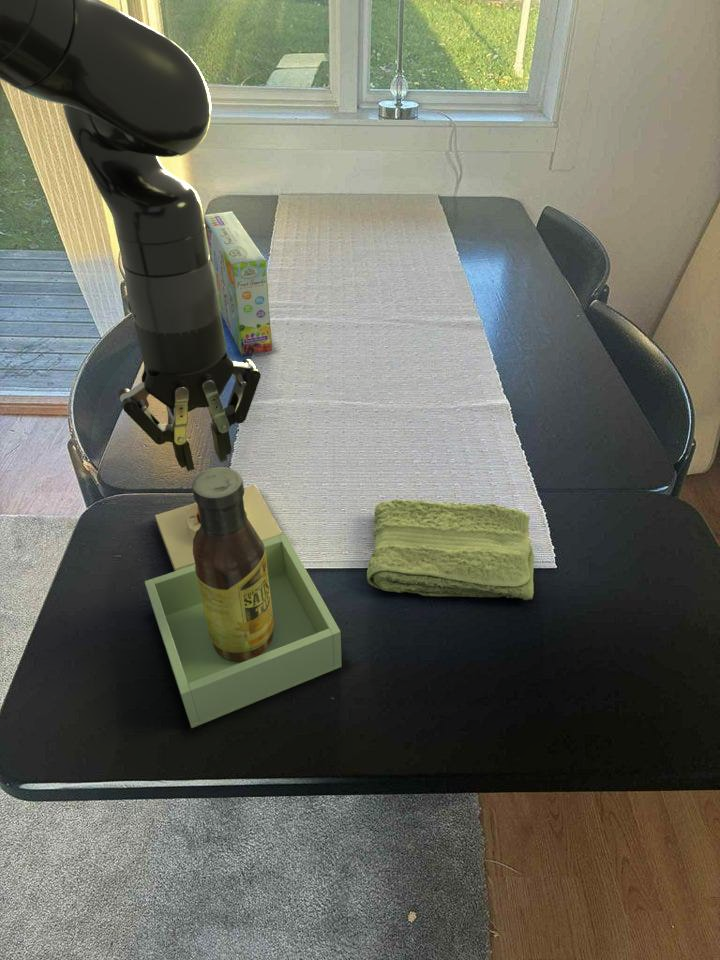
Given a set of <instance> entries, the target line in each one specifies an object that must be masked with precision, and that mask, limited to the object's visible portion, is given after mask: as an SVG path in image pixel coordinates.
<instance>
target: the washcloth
mask: <svg viewBox="0 0 720 960" xmlns="http://www.w3.org/2000/svg"><path fill="white" fill-rule="evenodd" d="M530 515H531V514H530V513H526V512H524V511H522V510H521V509H519V508H518V509H517V508H510V507H506V506H502V505H497V504H493V503H491V504H489V503H486V504H482V503H480V504H477V503H473V504H472V503H462V502H458V503H454V502H449V503H447V502H436V501H433V502H430V501H427V500H423V499H419V500H415V499H410V500H406V499H405V500H402V499H393V500H385V501H380V502H379V503H377V504H376V505H375V509H374V519H373V521H374V528H373V535H372V537H374V538H375V540H374V550H373V552H372V553H371V556H370V560H369V562H368V568H367V570H366V579H367V583H368V584H370V585H371V587H374V588H377V589H379V590H381V591H384V592H389V593H398V594H399V593H408V594H409V593H410V594H418V595H421V596H423V597H439V598H441V597H464V598H501V597H505V598H506V599H509V598H510V599H521V600H524V601H528V600H533V597H534V594H535V591H534V588H535V587H534V571H535V569H534V568H535V567H534V564H535V555H534V550H533V547H532V541H531V539H530V531H529V530H530V529H529V528H530V527H529V526H530V525H529V524H530V518H531V517H530Z"/></svg>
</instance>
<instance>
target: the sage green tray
mask: <svg viewBox="0 0 720 960" xmlns="http://www.w3.org/2000/svg"><path fill="white" fill-rule="evenodd" d="M263 543H264V546H265V553H266V562H267V570H268V578H269V586H270V595H271V604H272V612H273V620H274V627H273V636H272V637H273V638H272V640H271V642H270V645H269V646H268V647H267V649H266V650H265V651H264V652H263V653H262V654H261V655H259V656H257V657H255V658H252V659H249V660H247V661H243V662H236V661H230V660H228V659H224V658H223V657H222V656H220V655H219V654H218V653H217V652H216V650H215V648H214V646H213V643H212V641H211V639H210V637H209V633H208V628H207V624H206V619H205V615H204V610H203V605H202V600H201V595H200V591H199V586H198V581H197V577H196V572H195V565H193V566H190V567H187V568H184V569H181V570H178V571H172V572H169V573H166V574H163V575H160V576H157V577H153V578H150V579H148V580H147V579H146V580H144V585H145V589H146V591H147V595H148V598H149V600H150V604H151V607H152V610H153V613H154V617H155V621H156V623H157V626H158V630H159V633H160V635H161V638H162V639H161V640H162V642H163V645H164V647H165V651H166V654H167V657H168V660H169V663H170V666H171V670H172V673H173V675H174V678H175V682H176V685H177V688H178V691H179V695H180V698H181V700H182V701H181V702H182V703H183V706H184V710H185V713H186V716H187V719H188V723H189V725H190V728H191V729H194V728H196V727H199V726H201V725H203V724H205V723H209V722H211V721H213V720H215V719H218V718H220V717H223V716H224V715H225V716H226V715H228V714H231V713H232V712H235V711H237V710H240V709H242V708H245V707H247V706H250V705H252V704H255V703H257V702H259V701H261V700H264V699H266V698H270V697H271V696H274V695H276V694H279V693H281V692H283V691H286V690H289V689H291V688H293V687H296V686H298V685H301V684H304V683H306V682H308V681H310V680H313V679H315V678H317V677H320V676H323V675H325V674H327V673H330V672H332V671H335V670H337V669H339V668H342V666H343V665H342V663H343V662H342V635H341V630H340V627H339V626H338V625H337V622H336V621H335V619H334V617H333V615H332V614H331V612H330V610H329V608H328V607H327V605H326V603H325V601H324V600H323V598H322V596H321V594H320V593H319V590H318V589H317V587H316V585H315V584H314V581H313V580H312V578H311V577H310V574H309V572H308V571H307V569H306V567H305V565H304V563H303V562H302V560H301V559H300V556H299V555H298V553H297V552H296V549H295V548H294V546H293V543H292V542H291V541H290V539H289V537H288V535H287V534H286V533H285V534H282V536H279V537H277V538H274V539H271V540H268V541H265V542H263Z"/></svg>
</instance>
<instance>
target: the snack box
mask: <svg viewBox="0 0 720 960" xmlns="http://www.w3.org/2000/svg"><path fill="white" fill-rule="evenodd" d="M203 215H204V221H205V228H206V235H207V242H208V248H209V255H210V260H211V264H212V267H213V271H214V274H215V278H216V283H217V289H218V296H219V302H220V309H221V316H222V319H223V320H224V322H225V324H226V326H227V328H228V330H229V332H230V334H231V336H232V339H233V340H234V342H235V344H236V346H237V348H238V350H239V352H240V354H241V356H246V355H253V354H254V355H255V354H259V353H265V352H266V353H267V352H271V351H273V344H272V329H271V313H270V300H269V284H268V273H267V260H266V259H265V257H264V256H263V253H261V251H260V250H259V249H258V247H257V246H256V244H255V243H254V241H253V240H252V238H251V236H250V235H249V233H247V231H246V229H245V228H244V227H243V226H242V224H241V222H240V221H239V219H238V218H237V216H236V215H235V214H234V212H233V211H231V210H230V211H225V212H216V213H215V212H214V213H209V214H203Z"/></svg>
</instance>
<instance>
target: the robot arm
mask: <svg viewBox="0 0 720 960" xmlns="http://www.w3.org/2000/svg"><path fill="white" fill-rule="evenodd" d="M0 80H1V81H3V82H5V83H6V84H8V85H9V86H11V87H13V88H15V89H17V90H18V91H21V92H23V93H26V94H27V95H29V96H32V97H34V98H38V99H40V100H44V101H47V102H51V103H55V104H59V105H62V109H63V113H64V117H65V120H66V123H67V126H68V129H69V131H70V133H71V136H72V138H73V140H74V143H75V145H76V147H77V149H78V151H79V153H80V155H81V157H82V159H83V161H84V163H85V165H86V167H87V170H88V172H89V173H90V176H91V177H92V180H93V182H94V184H95V186H96V188H97V190H98V192H99V194H100V195H101V198H102V199H103V201H104V203H105V204H106V206H107V208H108V210H109V212H110V214H111V216H112V221H113V225H114V229H115V234H116V235H115V236H116V239H117V244H118V248H119V251H120V256H121V260H122V264H123V270H124V279H125V290H126V295H127V299H128V303H127V304H128V309H129V311H130V314H131V316H132V320H133V325H134V327H135V333H136V337H137V342H138V346H139V349H140V353H141V358H142V362H143V363H142V364H143V372H142V375H141V382H140V383H139V384H137V385H136V386H134V387H133V388H131V389H129V388H126V387H125V388H121V389H120V390H118V393H117V397H118V399H119V402H120V405H121V406H122V409H123V411H124V412H125V413H126V414H127V416H128V417H130V419H132V421H133V422H135V424H136V425H137V426H138V427H139V428H140V429H141V430H142V431H143V432H144V433H145V434H146V435H147V436H148V437H149V438H150V439H151V440H152V441H153V442H154V443H155V444H156V445H160V446H161V445H164V444H166V443H171V444H172V448H173V451H174V452H173V453H174V457H175V459H176V461H177V463H178V465H179V467H180V468H181V469H182V468H185V469H186V471H187V472H191V471H194V470H195V469H196V468H195V464H194V460H193V456H192V455H193V454H192V449H191V445H190V441H189V439H188V438H187V437H188V436H187V432H188V431H187V426H188V424H189V413H190V412H191V411H194V410H195V409H198V408H199V409H200V408H202V409H203V408H207V410H208V413H209V416H210V418H211V422H210V423H209V426H210V431H211V436H212V443H213V447H214V452H215V454H216V457H217V459H218V460H219V462H220V463H223V462H226V461H228V455H231V454H232V450H233V449H232V448H233V447H232V442H231V436H230V428H231V427H232V426H233V425H235V424H236V423H237V424H243V423H244V422H245V421H246V419H247V417H248V415H249V412H250V409H251V405H252V402H253V400H254V397H255V394H256V391H257V389H258V386H259V382H260V380H261V377H262V374H261V372H260V371H259V369H258V367H257V366H256V365H255V363H254V362H253V360H251V359H249V358H245V359H244V360H242V361H236V360H232V359H231V357H230V355H229V354H228V350H227V344H226V338H225V337H226V336H225V330H224V324H223V316H222V314H221V309H220V302H219V296H218V289H217V283H216V278H215V274H214V271H213V267H212V264H211V260H210V255H209V248H208V242H207V235H206V228H205V221H204V215H205V214H204V211H203V206H202V202H201V198H200V196H199V194H198V191H196V189H195V188H194V187H193V186H192V185H190V184H189V183H187V182H186V181H184V180H182V179H180V178H179V177H177V176H175V175H174V174H172V173H171V172H169V171H168V170H167V169H166V168H165V167H164V166H163V165H162V163H161V161H160V158H177V157H181V156H186V155H187V154H189V153H191V152H192V151H194V150H195V149H196V148H197V147H199V145H200V144H201V143H202V142H203V140H204V139H205V138H206V135H207V134H208V130H209V128H210V126H211V125H210V124H211V120H212V101H211V95H210V92H209V88H208V86H207V82H206V81H205V78H204V76H203V74H202V72H201V71H200V69H199V67H198V65H196V63H195V62H194V61H193V59H192V58H191V57H190V56H189V54H188V53H187V52H186V51H185V50H184V49H182V47H180V46H179V45H178V44H176V43H175V42H174V41H172V40H171V39H170V38H168V37H167V36H166V35H163V34H162V33H161V32H159V31H157V30H155V29H154V28H152V27H150V26H148V25H146V24H145V23H143V22H141V21H140V20H138V19H136V18H134V17H133V16H131V15H129V14H127V13H125V12H124V11H122V10H120V9H119V8H116V7H114V6H112V5H110V4H108V3H106V2H104V1H102V0H0ZM231 377H232V379H233V380H234V384H233V387H232V389H231V393H230V396H229V398H228V402H227V405H226V407H224V405H223V402H222V400H221V395H222V393H223V391H224V390H225V388H226V387H227V385H228V383H229V381H230V379H231ZM149 395H151V396H152V397H153V398H154V399H156V401H159V402H160V403H161V404H163V405H165V406H166V412H167V423H161V422H160V421H159V420H158V418H157V417H156V416H155V415H154V414H153V413H152V411H150V410H149V407H150V403H149V400H148V396H149Z"/></svg>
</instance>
